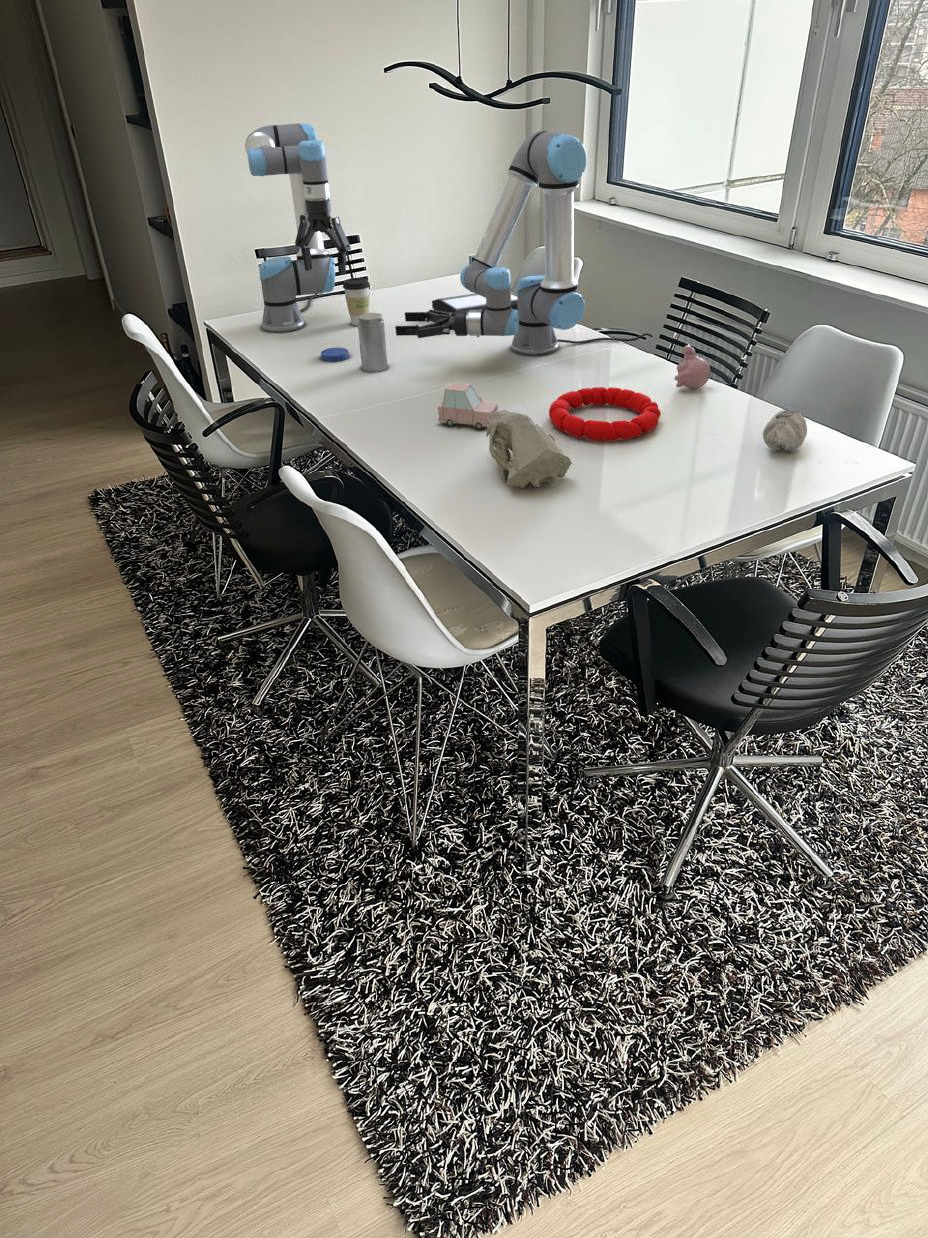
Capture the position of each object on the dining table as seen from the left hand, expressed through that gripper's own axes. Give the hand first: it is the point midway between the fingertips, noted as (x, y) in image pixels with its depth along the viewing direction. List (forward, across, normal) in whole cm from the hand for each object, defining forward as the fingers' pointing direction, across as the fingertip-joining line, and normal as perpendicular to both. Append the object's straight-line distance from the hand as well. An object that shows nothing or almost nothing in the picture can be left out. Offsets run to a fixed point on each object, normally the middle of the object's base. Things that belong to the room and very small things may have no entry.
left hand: (325, 272), depth 281 cm
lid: (+26, 0, 0) cm, 26 cm away
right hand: (+13, +27, 0) cm, 30 cm away
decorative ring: (+27, +102, -11) cm, 106 cm away
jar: (+27, +18, -3) cm, 33 cm away
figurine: (+27, +114, +24) cm, 119 cm away
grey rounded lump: (+27, +149, -6) cm, 152 cm away
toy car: (+27, +69, -29) cm, 80 cm away
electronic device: (+27, +21, +62) cm, 70 cm away
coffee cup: (+27, -16, +34) cm, 47 cm away
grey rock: (+27, +96, -48) cm, 111 cm away
